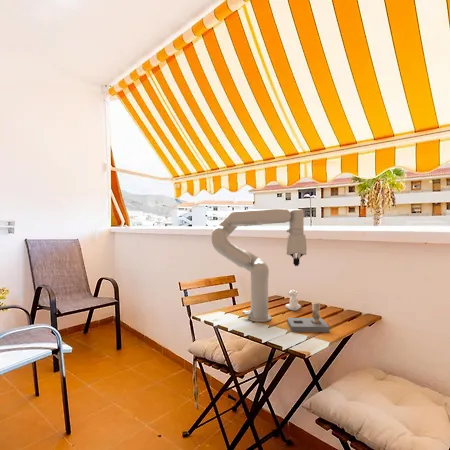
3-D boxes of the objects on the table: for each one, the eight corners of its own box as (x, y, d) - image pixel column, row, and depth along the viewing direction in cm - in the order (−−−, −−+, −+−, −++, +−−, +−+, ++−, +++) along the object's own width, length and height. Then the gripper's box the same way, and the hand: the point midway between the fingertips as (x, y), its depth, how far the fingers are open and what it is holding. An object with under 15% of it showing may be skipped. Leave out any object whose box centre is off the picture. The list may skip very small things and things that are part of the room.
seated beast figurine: (301, 307, 197) (301, 288, 197) (302, 311, 188) (302, 291, 188) (285, 307, 198) (285, 287, 198) (286, 311, 190) (286, 290, 190)
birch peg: (313, 328, 159) (313, 304, 159) (311, 325, 163) (311, 302, 163) (320, 328, 159) (320, 304, 159) (318, 326, 163) (318, 302, 163)
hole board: (291, 331, 155) (291, 326, 155) (287, 322, 169) (287, 317, 169) (329, 332, 154) (329, 326, 154) (321, 322, 168) (321, 317, 168)
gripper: (283, 232, 170) (283, 266, 170) (311, 232, 170) (311, 266, 170) (281, 231, 178) (281, 264, 178) (308, 231, 177) (308, 264, 177)
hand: (296, 265), depth 174 cm, fingers closed
